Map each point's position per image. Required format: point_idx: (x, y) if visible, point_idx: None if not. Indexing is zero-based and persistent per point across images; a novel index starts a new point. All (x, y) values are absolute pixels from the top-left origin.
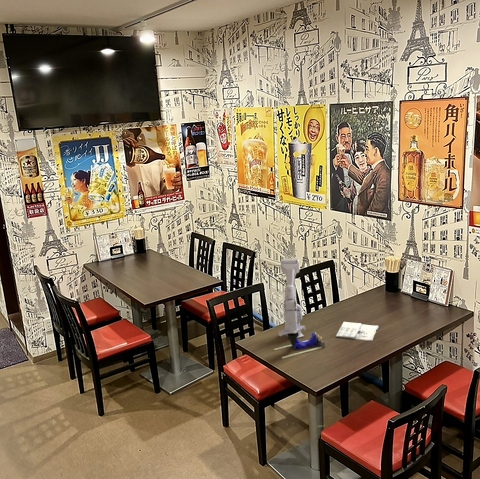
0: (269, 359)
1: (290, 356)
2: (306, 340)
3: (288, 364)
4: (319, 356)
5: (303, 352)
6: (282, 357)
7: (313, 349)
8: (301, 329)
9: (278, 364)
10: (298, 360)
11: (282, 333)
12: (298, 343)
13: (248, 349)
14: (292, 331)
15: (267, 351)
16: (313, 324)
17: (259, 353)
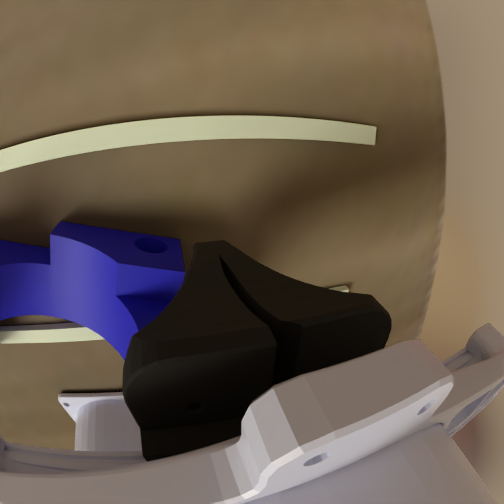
0: (430, 179)
1: (295, 117)
2: (39, 341)
3: (370, 16)
4: (23, 7)
5: (124, 123)
6: (372, 135)
7: (5, 150)
8: (34, 465)
9: (423, 74)
10: (259, 7)
11: (500, 359)
12: (130, 276)
13: (418, 333)
14: (415, 434)
15: (380, 290)
16: (17, 443)
17: (420, 281)
